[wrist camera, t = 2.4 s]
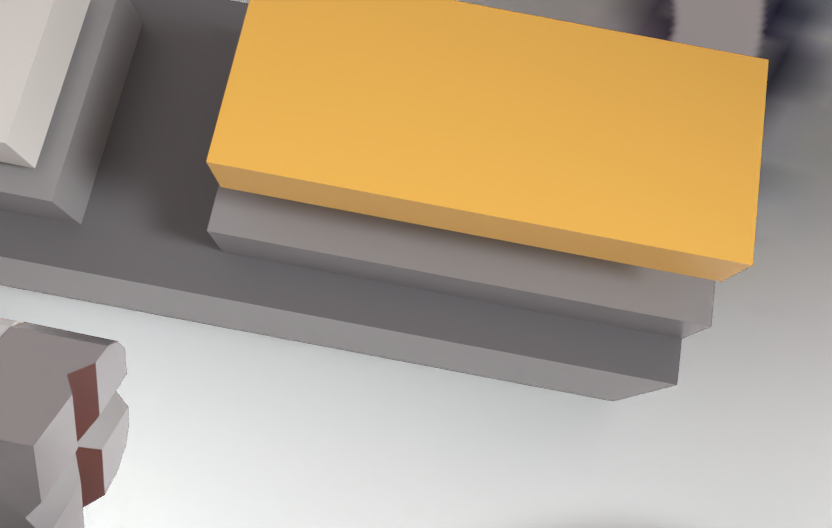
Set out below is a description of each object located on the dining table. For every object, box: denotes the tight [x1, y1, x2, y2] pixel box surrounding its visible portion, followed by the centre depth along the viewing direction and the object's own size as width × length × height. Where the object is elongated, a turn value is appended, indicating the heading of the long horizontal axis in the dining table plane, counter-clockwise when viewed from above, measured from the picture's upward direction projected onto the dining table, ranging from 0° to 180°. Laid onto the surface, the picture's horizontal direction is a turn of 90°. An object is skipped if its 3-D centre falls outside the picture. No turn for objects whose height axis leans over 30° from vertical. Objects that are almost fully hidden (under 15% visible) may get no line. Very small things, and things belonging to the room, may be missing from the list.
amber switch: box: [206, 0, 769, 282], centre depth 18 cm, size 12×5×2 cm, turn 80°
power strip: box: [0, 0, 715, 401], centre depth 24 cm, size 30×9×8 cm, turn 80°
